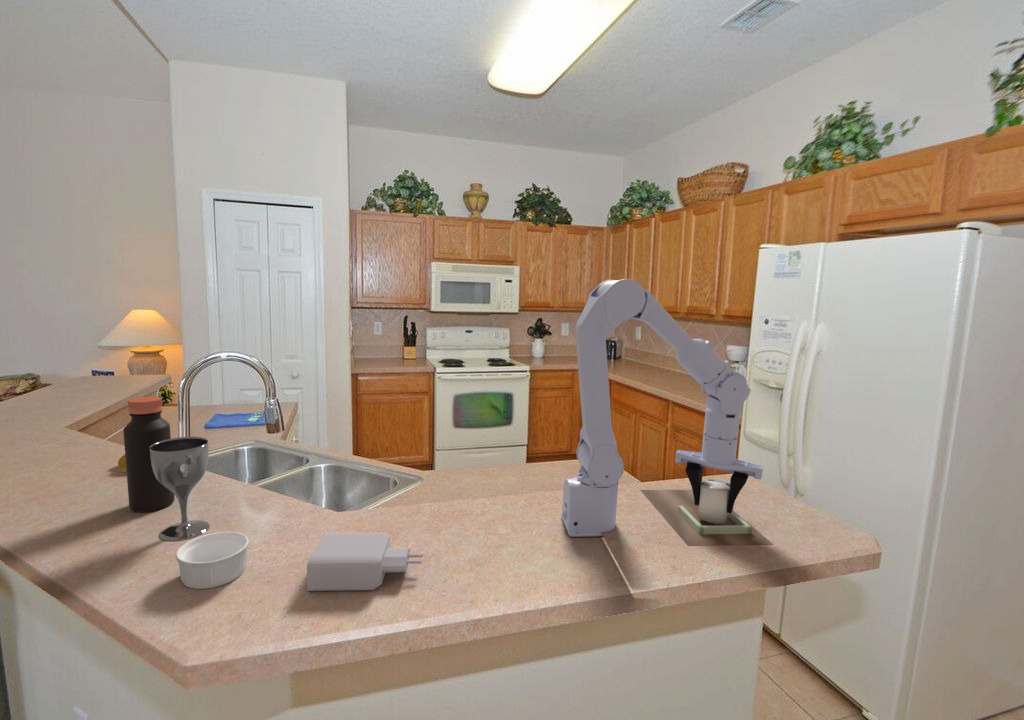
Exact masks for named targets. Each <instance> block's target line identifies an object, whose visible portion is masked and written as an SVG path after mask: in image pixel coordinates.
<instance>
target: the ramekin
mask: <svg viewBox="0 0 1024 720" xmlns="http://www.w3.org/2000/svg"><path fill="white" fill-rule="evenodd" d="M249 541H250V540H249V538H248V536H247V535H246V534H243V533H242V532H241V533H240V532H237V531H236V532H235V531H218V532H214V533H213V532H212V533H209V534H205V535H199V536H196V537H194V538H192V539H190V540H189V541H186V543H184V544H183V545H181V546H180V547H179V548H178V549H177V550H176V552H175V558H176V561H177V563H178V569H179V574H180V580H181V582H182V583H183V585H184V586H186V587H188V588H190V589H195V590H208V589H213V588H218V587H221V586H224V585H227V584H229V583H230V582H232V581H235V580H236V579H237V578H239V577H240V576H241V575H242V574H243V573H244V571H245V570H246V568H247V554H248V548H249V544H250V542H249Z"/></svg>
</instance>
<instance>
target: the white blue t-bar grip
mask: <svg viewBox="0 0 1024 720" xmlns="http://www.w3.org/2000/svg"><path fill="white" fill-rule="evenodd" d="M729 497H730V481H728V480H723V479H718V478H714V477H713V478H712V477H709V478H708V480H705V481H702V482H701V486H700V497H699V507H698V517H699V518H700V519H702V520H704V521H706V522H709V523H715V524H723V523H726V522H727V516H728V513H727V507H728V502H729Z"/></svg>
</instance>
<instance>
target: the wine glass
mask: <svg viewBox="0 0 1024 720" xmlns="http://www.w3.org/2000/svg"><path fill="white" fill-rule="evenodd" d="M150 460H151V465H152V469H153V472H154V475H155V477H156V479H157V481H158V482H159V483H160V484H161V485H162V486H164V487H165V488H167V489H168V490H170V491H171V492H172V493H173V494H174V497H176V499H177V502H178V504H179V509H180V518H181V522H178V523H175V524H174V523H173V524H172V525H169V526H166V527H165V528H164V529H163V530H161V531H160V532H159V534H158V537H159V539H160V540H162V541H165V542H180V541H186V540H191V539H194V538H197V537H200V536H202V535H203V534H204V533H205V532H207V531H208V530H209V529H210V527H211V525H210V523H209V522H208V521H206V520H199V519H198V520H197V519H193V520H188V515H187V514H188V512H187V511H188V510H187V509H188V507H187V506H188V501H189V496H190V494H191V492H192V491H193V489H194V488H195V487H196V486H197V484H198V483H199V482H201V480H202V479H203V477H204V476H205V474H206V471H207V467H208V465H209V464H208V462H209V440H208V438H206V437H201V436H181V437H174V438H171V439H167V440H163V441H160V442H157V443H154V444H153V445H151V446H150Z"/></svg>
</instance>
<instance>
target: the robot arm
mask: <svg viewBox="0 0 1024 720" xmlns="http://www.w3.org/2000/svg"><path fill="white" fill-rule="evenodd" d="M630 319H633V320H637V321H641V322H643V323H645V324H646V325H647V326H648V327H650V328H651V329H652V330H653V332H655V333H656V334H657V335H658V336H659V337H661V338H662V339H663V340H664V341H665V342H666V343H667V344H669V346H670V347H671V348H673V349H674V350H675V351H676V362H677V363H678V365H680V366H681V367H682V368H683V369H684V370H685V371H686V372H687V373H688V374H689V375H690V376H691V377H692V378H693V379H694V380H695V381H696V382H697V383H698V384H699V385H700V386H701V390H702V392H703V393H704V394H706V403H705V413H704V414H705V415H704V423H703V435H702V446H701V448H702V449H701V452H697V451H688V450H682V449H681V450H680V449H678V450H676V452H675V458H674V459H675V461H674V462H675V463H677V464H682V463H683V464H686V466H685V469H684V472H685V475H686V476H687V478H688V481H689V484H690V486H691V487H690V488H691V490H693V495H694V504H695V505H699V497H700V486H701V482H703V474H704V469H705V468H708V469H712V470H713V469H714V470H717V471H721V472H728V473H732V474H731V476H730V479H729V482H730V497H729V502H728V507H727V513H732V511H734V505H735V502H736V500H737V498H738V495H739V494H740V492H741V491H742V489H743V488H744V486H745V485H746V483H747V481H748V479H749V477H751V478H754V479H755V480H762V478H763V472H764V466H763V465H759V464H755V463H751V462H748V461H745V460H740V459H738V458H737V448H738V439H739V438H738V437H739V430H740V429H739V428H740V420H741V419H740V418H741V412H742V410H743V405H744V402H745V401H746V400H747V399H748V398H749V395H750V393H751V388H749V385H748V381H747V379H746V377H745V376H744V375H743V374H741V373H740V372H738V371H734V370H732V368H731V367H732V363H731V362H730V361H729V360H726V359H725V360H724V359H723V358H722V357H721V356H720V355H719V354H718V353H717V352H716V351H715V350H714V347H715V345H714V344H713V343H712V342H711V341H709V340H704V339H703V338H692V337H691V336H690V335H689V334H688V333H687V331H685V330H684V328H683V327H682V326H681V325H680V324H679V323H678V322H677V321H676V320H675V318H674V317H672V315H671V314H670V313H669V312H668V311H667V310H666V309H665V307H663V305H662V304H661V303H660V302H659V301H658V300H657V298H656V297H655V296H654V295H653V294H652V292H650V291H648V290H647V289H644V287H643V286H642V284H640V283H639V282H638V281H637V280H635V279H631V278H623V279H618V280H616V279H606V280H604V281H603V282H601V283H599V284H598V285H597V286H596V287H595V288H594V289H593V290H592V291H590V293H589V294H588V298H587V302H586V304H585V306H584V308H583V310H582V312H581V314H580V316H579V318H578V319H577V322H576V324H575V327H574V328H575V329H574V331H575V344H576V357H577V358H576V359H577V369H578V370H577V372H578V373H577V374H578V381H579V382H578V384H579V395H580V397H579V398H580V410H581V423H582V427H581V428H580V431H579V442H578V444H577V447H576V459H577V460H578V462H579V464H580V465H581V467H580V468H579V470H578V472H577V476H575V477H572V478H566V479H565V480H564V482H563V490H562V509H561V510H562V511H561V520H562V522H563V524H564V526H565V528H566V531H567V534H568V536H569V537H573V538H575V537H580V538H581V537H604V535H603V533H606V532H610V531H612V530H614V529H615V528H616V523H617V521H616V520H617V510H618V509H617V506H618V493H619V482H620V479H621V478H622V477H623V475H624V471H625V470H624V469H625V464H624V461H623V459H622V457H621V456H620V453H619V452H618V443H617V440H616V437H615V434H614V431H613V425H612V410H611V397H610V383H609V381H610V380H609V369H608V354H607V337H608V336H609V335H610V334H611V333H612V332H613V331H614V330H615V329H617V327H618V326H619V325H620V324H622V323H624V322H626V321H629V320H630Z"/></svg>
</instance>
